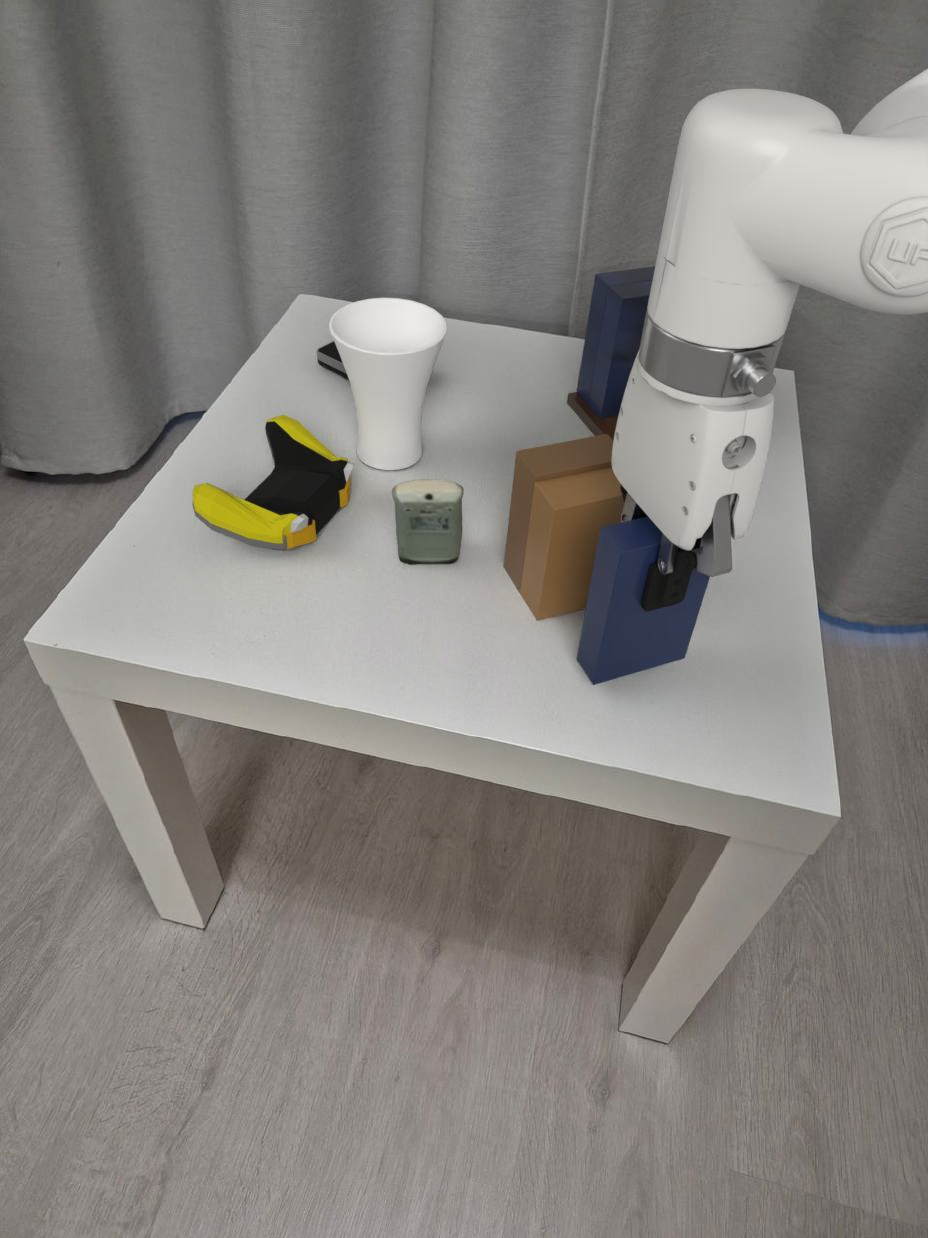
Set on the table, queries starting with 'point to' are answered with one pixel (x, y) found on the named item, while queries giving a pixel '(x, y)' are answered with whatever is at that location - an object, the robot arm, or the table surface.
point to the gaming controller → (281, 493)
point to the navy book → (632, 607)
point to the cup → (388, 373)
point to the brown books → (560, 521)
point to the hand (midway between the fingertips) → (648, 586)
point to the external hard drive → (331, 359)
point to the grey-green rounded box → (428, 521)
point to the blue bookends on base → (610, 346)
